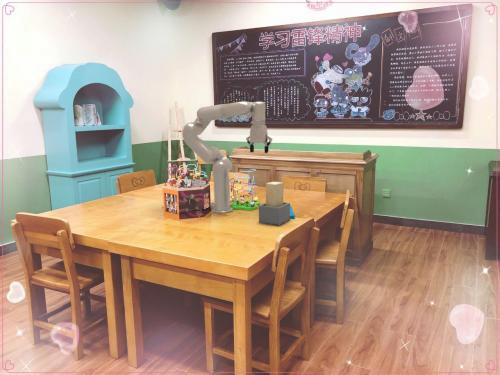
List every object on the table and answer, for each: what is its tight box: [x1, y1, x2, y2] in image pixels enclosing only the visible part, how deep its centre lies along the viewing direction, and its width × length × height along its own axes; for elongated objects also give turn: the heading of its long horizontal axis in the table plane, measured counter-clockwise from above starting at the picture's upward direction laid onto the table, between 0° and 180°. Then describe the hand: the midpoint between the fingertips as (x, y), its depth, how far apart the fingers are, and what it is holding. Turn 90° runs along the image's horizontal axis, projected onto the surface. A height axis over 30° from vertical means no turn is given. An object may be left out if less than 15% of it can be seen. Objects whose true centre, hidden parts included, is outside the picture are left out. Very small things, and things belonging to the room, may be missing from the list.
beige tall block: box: [265, 181, 284, 207], centre depth 228 cm, size 8×7×21 cm
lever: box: [290, 204, 296, 220], centre depth 245 cm, size 7×7×18 cm
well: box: [258, 201, 291, 227], centre depth 229 cm, size 12×13×10 cm
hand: (259, 152), depth 245 cm, fingers open, 9 cm apart
